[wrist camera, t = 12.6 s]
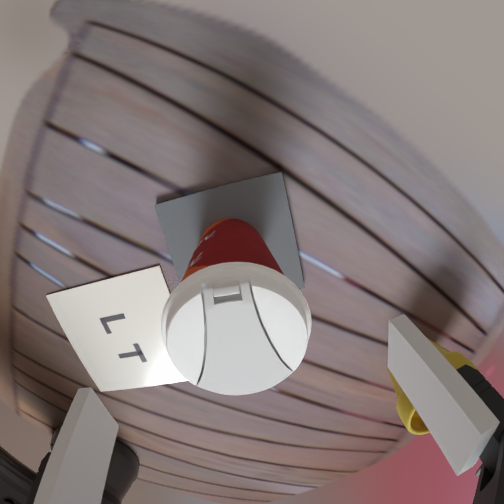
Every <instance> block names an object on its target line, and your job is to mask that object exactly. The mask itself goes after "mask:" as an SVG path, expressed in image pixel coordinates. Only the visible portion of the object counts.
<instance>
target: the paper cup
mask: <svg viewBox="0 0 504 504" xmlns="http://www.w3.org/2000/svg"><path fill="white" fill-rule="evenodd" d="M310 332H311V314H310V309H309V306H308V303H307V301H306V299H305V297H304V295H303V294H302V292H301V291H300V289H299V288H298V287H297V286H296V285H295V284H294V283H293V282H292V281H291V280H290V279H288V278H287V277H286V276H285V275H284V273H283V272H282V270H281V268H280V267H279V265H278V263H277V262H276V260H275V258H274V257H273V255H272V253H271V252H270V250H269V248H268V247H267V245H266V243H265V242H264V240H263V239H262V237H261V236H260V234H259V233H258V232H257V230H256V229H255V228H254V227H253V226H252V225H250V224H249V223H247V222H245V221H243V220H240V219H234V218H228V219H223V220H219V221H217V222H215V223H213V224H212V225H211V226H209V227H208V228H207V229H206V231H205V232H204V233H203V235H202V236H201V238H200V240H199V242H198V244H197V246H196V249H195V251H194V253H193V255H192V258H191V260H190V262H189V264H188V267H187V269H186V271H185V274H184V276H183V279H182V281H181V283H180V284H178V286H177V287H176V288H175V289H174V290H173V291H172V293H171V294H170V296H169V298H168V299H167V301H166V303H165V306H164V309H163V312H162V317H161V334H162V338H163V342H164V345H165V347H166V349H167V351H168V354H169V357H170V359H171V361H172V363H173V364H174V366H175V367H176V369H177V370H178V372H179V373H180V374H181V375H182V376H183V377H184V378H186V379H187V380H188V381H189V382H191V383H192V384H194V385H196V384H197V386H198V387H201V388H203V389H206V390H209V391H212V392H215V393H219V394H225V395H244V394H251V393H256V392H260V391H263V390H266V389H268V388H271V387H273V386H275V385H276V384H278V383H279V382H281V381H282V380H284V379H285V378H286V377H288V376H289V375H290V374H291V373H293V371H295V370H296V369H297V367H298V366H299V364H300V362H301V361H302V359H303V357H304V354H305V352H306V348H307V344H308V340H309V337H310Z"/></svg>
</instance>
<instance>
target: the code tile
mask: <svg viewBox="0 0 504 504" xmlns="http://www.w3.org/2000/svg"><path fill="white" fill-rule="evenodd" d="M169 296H170V292H169V290H168V287H167V284H166V282H165V279H164V276H163V273H162V271H161V268H160V265H159V266H155V267H151V268H147V269H143V270H139V271H136V272H132V273H128V274H124V275H120V276H116V277H113V278H109V279H105V280H101V281H97V282H94V283H90V284H86V285H82V286H79V287H75V288H71V289H67V290H64V291H60V292H56V293H52V294H49V295H46V297H47V299H48V301H49V303H50V305H51V307H52V309H53V311H54V313H55V315H56V317H57V319H58V321H59V323H60V325H61V327H62V329H63V330H64V332H65V334H66V336H67V338H68V339H69V341H70V343H71V345H72V347H73V348H74V350H75V352H76V353H77V355H78V357H79V358H80V360H81V362H82V363H83V365H84V367H85V368H86V370H87V371H88V373H89V375H90V376H91V378H92V379H93V381H94V382H95V384H96V385H97V387H98V388H99V390H100V391H101V392H102V391H113V390H123V389H132V388H140V387H148V386H155V385H163V384H169V383H176V382H182V381H188V380H187V379H186V378H184V377H183V376H182V375H181V374H180V373H179V372H178V370H177V369H176V367H175V366H174V364H173V363H172V361H171V359H170V357H169V354H168V351H167V349H166V347H165V345H164V342H163V338H162V334H161V317H162V312H163V309H164V306H165V303H166V301H167V299H168V298H169Z"/></svg>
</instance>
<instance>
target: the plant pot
mask: <svg viewBox="0 0 504 504" xmlns="http://www.w3.org/2000/svg"><path fill="white" fill-rule="evenodd" d="M426 338H427V337H426ZM427 339H428V338H427ZM428 340H429V341H430V342H431V343H432V344H433V345H434V346H435V347H436V348H437V349H438V351H439V352H440V353H441V354H442V355H443V356H444V357H445V358H446V359H447V361H448V362H449V363H450V364H451V365H452V366H453V367H454V368H455V369H458V368H460V367H462V366H464V365H465V364H467V365H469V366H471V367H473V368H475V369H477V368H476V367H475V365H474V364H473V363H472V362H471V361H470V360H469V359H468V358H466V357H465V356H464V355H463V354H461V353H459V352H450V351H448V350H447V349H445V348H443V347H442V346H440V345H438V344H437V343H435V342H433V341H432V340H430V339H428ZM477 370H478V369H477ZM388 371H389V374H390V377H391V380H392V383H393V386H394V389H395V392H396V395H397V398H398V400H397V405H396V407H397V412H398V414H399V416H400V418H401V420H402V422H403V423H404V425H405V427H406V428H407V430H408V431H409V432H411V433H413V434H417V435H419V434H426V433H429V432H430V431H429V430H428V428H427V426H426V425H425V423H424V422H423V420H422V419H421V417H420V415H419V414H418V412H417V411H416V409H415V408H414V406H413V405H412V403H411V402H410V400H409V399H408V397H407V396H406V394H405V393H404V391H403V390H402V388H401V387H400V385H399V384H398V382H397V381H396V379H395V378H394V376H393V375H392V373H391V372H390V370H389V369H388ZM478 371H479V370H478Z"/></svg>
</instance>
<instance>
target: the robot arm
mask: <svg viewBox="0 0 504 504" xmlns="http://www.w3.org/2000/svg"><path fill="white" fill-rule="evenodd" d="M387 367H388V369H389V370H390V372H391V373H392V375H393V376H394V378H395V379H396V381H397V382H398V384H399V385H400V387H401V388H402V390H403V391H404V393H405V394H406V396H407V397H408V399H409V400H410V402H411V403H412V405H413V406H414V408H415V409H416V411H417V412H418V414H419V415H420V417H421V419H422V420H423V422H424V423H425V425H426V426H427V428H428V430H429V431H430V433H431V434H432V436H433V437H434V439H435V441H436V442H437V444H438V445H439V447H440V449H441V450H442V452H443V454H444V455H445V457H446V458H447V460H448V462H449V463H450V465H451V467H452V468H453V470H454V471H455V473H456V475H457V476H458V475H459V474H461V473H463V472H464V471H466V470H468V469H469V468H471V467H472V466H474V465H475V463H476V462H477V460H478V459H479V458H480V459H481V461H482V462H483V463H482V465H481V466H480V468H479V469H478V471H477V472H476V475H475V476H476V477H477V476H478V475H479V474H480V476H479V481H478V485H477V489H476V493H475V497H474V500H473V504H504V399H503V398H502V396H501V395H500V394H499V393H498V392H497V391H496V390H495V389H494V387H492V386H491V384H490V383H489V382H488V381H487V380H485V378H484V376H483V375H482V374H481V373H480V372H479V371H478V370H477V369H475V368H473V367H471V366H469V365H467V364H465V365H464V366H462V367H460V368H458V369H455V368H454V367H453V366H452V365H451V364H450V363H449V362H448V361H447V359H446V358H445V357H444V356H443V355H442V354H441V353H440V352H439V351H438V349H437V348H436V347H435V346H434V345H433V344H432V343H431V342H430V341H429V340H428V339H427V338H426V336H425V335H424V334H423V333H422V332H421V331H420V330H419V329H418V328H417V327H416V326H415V325H414V324H413V323H412V322H411V321H410V320H409V319H408V317H407V316H406V315H405V314H403V315H400V316H397V317H395V318H392V319H389V332H388V365H387ZM118 428H119V425H118V424H117V422H116V421H115V420H114V418H113V417H112V416H111V414H110V413H109V412H108V410H107V409H106V408H105V406H104V405H103V403H102V402H101V401H100V399H99V398H98V396H97V395H96V393H95V392H94V391H93V389H92V388H91V387H88V388H78V391H77V393H76V395H75V397H74V399H73V402H72V404H71V406H70V409H69V411H68V413H67V415H66V418H65V420H64V422H63V425H62V426H59V427H58V428H56V430H55V432H54V434H53V436H52V439H51V450H52V452H48V453H47V455H46V456H45V457H44V458H43V460H42V461H41V464H40V467H39V469H38V470H39V472H37V473H36V472H34V471H33V470H31V469H30V468H29V467H27V466H26V465H24V464H23V463H22V462H20V461H19V460H18V459H16V458H15V457H14V456H12V455H11V454H10V453H8V452H7V451H6V450H5V449H3V448H2V447H1V446H0V504H121V503H122V500H123V498H124V497H125V495H126V494H127V492H128V490H129V489H130V487H131V485H132V483H133V482H134V481H135V480H136V478H137V476H138V471H139V460H138V458H137V457H136V455H135V454H134V453H133V452H132V451H131V450H130V449H129V448H128V447H126V446H125V445H123V444H122V443H121V442H119V441H117V440H116V436H117V432H118Z"/></svg>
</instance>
